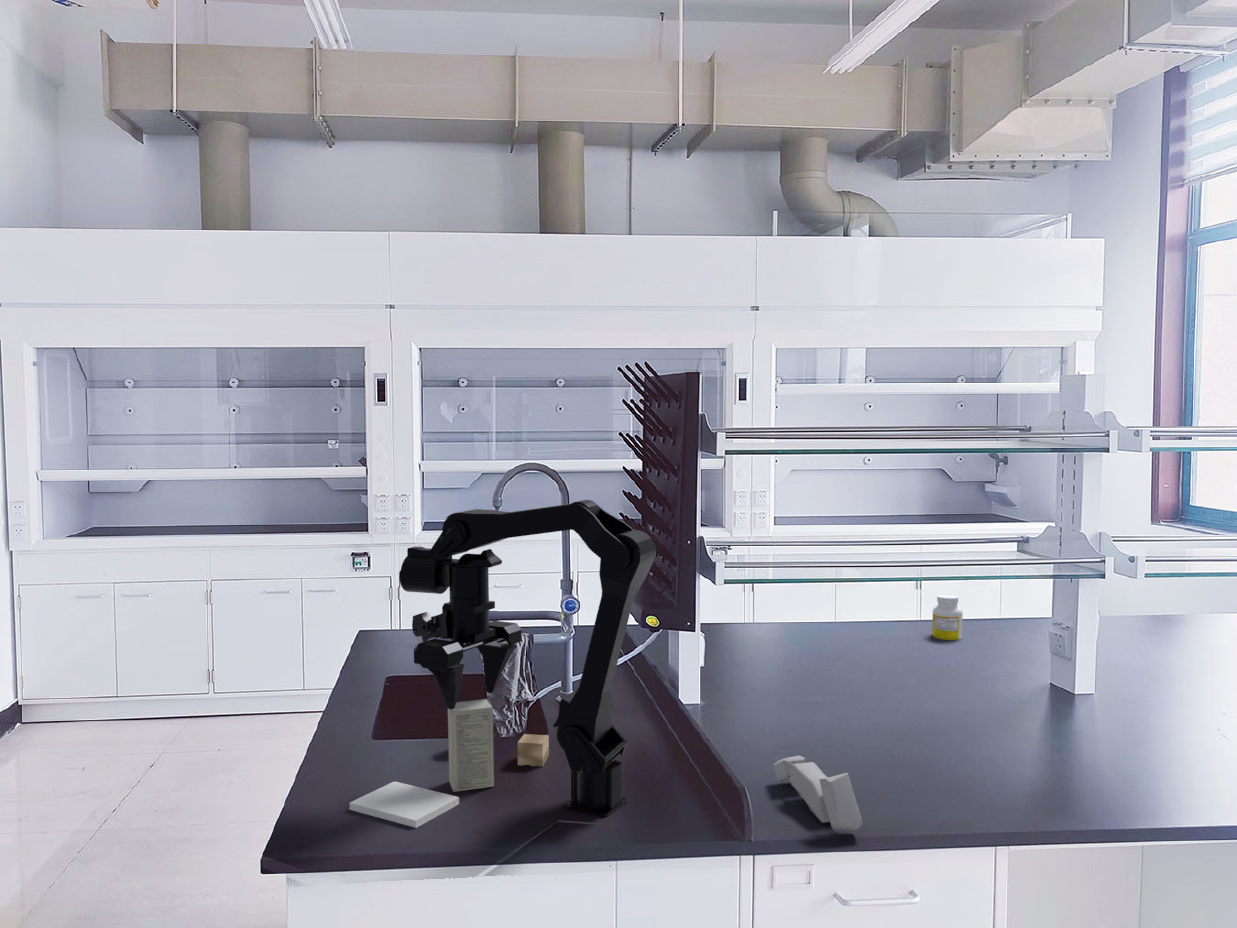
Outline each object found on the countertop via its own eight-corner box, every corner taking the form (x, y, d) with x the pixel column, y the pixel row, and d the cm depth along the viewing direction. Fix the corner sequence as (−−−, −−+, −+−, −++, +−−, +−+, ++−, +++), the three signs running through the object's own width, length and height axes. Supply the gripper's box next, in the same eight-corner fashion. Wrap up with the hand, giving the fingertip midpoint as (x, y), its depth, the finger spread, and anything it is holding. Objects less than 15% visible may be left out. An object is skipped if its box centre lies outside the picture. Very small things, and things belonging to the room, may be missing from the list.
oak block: (548, 760, 152) (548, 735, 152) (542, 769, 149) (542, 743, 148) (524, 758, 153) (524, 733, 153) (517, 767, 149) (517, 742, 149)
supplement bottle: (941, 645, 230) (942, 592, 229) (967, 651, 225) (968, 596, 224) (926, 650, 225) (927, 596, 225) (952, 655, 220) (953, 600, 220)
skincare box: (489, 777, 145) (488, 698, 144) (494, 787, 141) (494, 706, 140) (447, 782, 143) (446, 701, 142) (451, 793, 139) (451, 710, 138)
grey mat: (459, 804, 135) (459, 797, 135) (416, 827, 127) (416, 820, 127) (394, 787, 141) (394, 781, 140) (349, 809, 133) (349, 802, 133)
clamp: (864, 833, 124) (863, 781, 124) (838, 837, 123) (837, 784, 123) (795, 784, 144) (795, 739, 144) (772, 786, 143) (772, 741, 143)
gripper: (465, 582, 153) (467, 678, 153) (383, 601, 137) (385, 709, 137) (523, 587, 147) (524, 687, 148) (444, 608, 131) (446, 720, 132)
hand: (470, 700), depth 141 cm, fingers open, 9 cm apart
